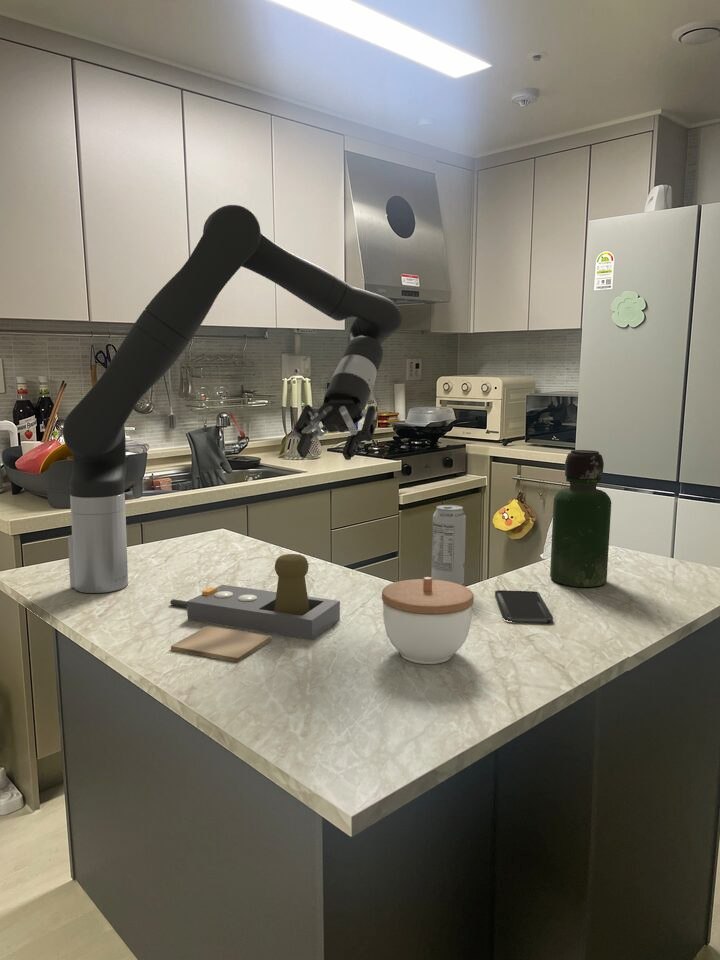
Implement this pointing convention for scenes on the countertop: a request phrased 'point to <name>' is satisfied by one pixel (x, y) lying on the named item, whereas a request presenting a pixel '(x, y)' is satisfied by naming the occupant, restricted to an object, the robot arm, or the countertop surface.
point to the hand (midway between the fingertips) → (323, 456)
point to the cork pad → (221, 643)
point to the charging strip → (259, 611)
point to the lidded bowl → (427, 618)
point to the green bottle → (581, 524)
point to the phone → (523, 607)
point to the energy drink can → (448, 544)
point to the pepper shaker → (291, 584)
